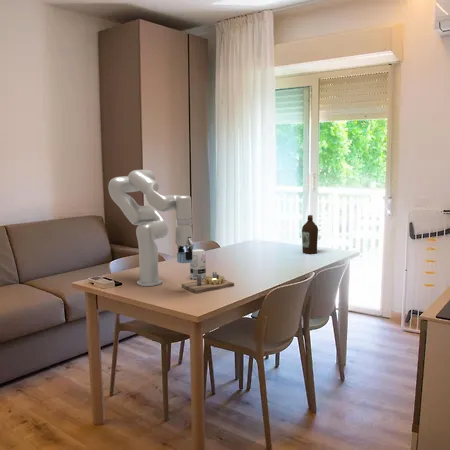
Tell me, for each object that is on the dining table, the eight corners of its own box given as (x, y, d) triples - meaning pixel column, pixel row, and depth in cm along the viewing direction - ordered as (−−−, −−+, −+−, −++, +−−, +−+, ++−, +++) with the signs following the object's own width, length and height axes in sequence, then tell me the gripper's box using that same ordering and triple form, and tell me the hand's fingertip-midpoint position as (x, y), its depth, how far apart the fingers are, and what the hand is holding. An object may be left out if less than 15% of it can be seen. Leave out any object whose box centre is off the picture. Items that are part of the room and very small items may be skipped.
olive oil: (310, 250, 330) (310, 214, 326) (321, 253, 321) (321, 215, 317) (298, 252, 324) (298, 215, 321) (309, 255, 315) (309, 216, 312)
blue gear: (174, 261, 234) (174, 252, 233) (188, 259, 237) (188, 251, 237) (181, 263, 228) (181, 255, 227) (195, 262, 231) (195, 253, 231)
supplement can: (190, 276, 263) (189, 248, 261) (205, 275, 264) (205, 248, 262) (190, 280, 255) (189, 251, 253) (206, 279, 256) (205, 251, 253)
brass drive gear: (201, 281, 245) (201, 272, 244) (217, 279, 251) (217, 269, 250) (211, 286, 237) (211, 276, 236) (228, 282, 242) (228, 273, 242)
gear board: (181, 287, 242) (181, 274, 241) (218, 280, 254) (218, 268, 253) (195, 293, 230) (195, 280, 229) (234, 286, 242) (234, 273, 241)
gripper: (169, 220, 235) (170, 256, 238) (185, 224, 221) (186, 262, 223) (183, 219, 239) (184, 254, 242) (199, 223, 225) (200, 260, 227)
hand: (185, 258), depth 232 cm, fingers closed on blue gear, 7 cm apart
